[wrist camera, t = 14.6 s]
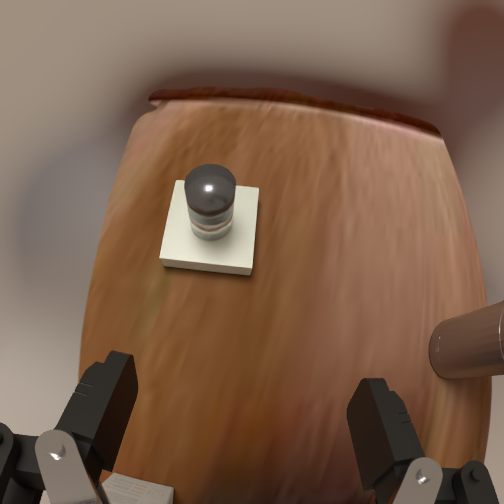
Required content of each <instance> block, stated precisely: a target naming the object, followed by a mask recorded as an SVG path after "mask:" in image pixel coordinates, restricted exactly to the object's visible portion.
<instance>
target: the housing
mask: <svg viewBox="0 0 504 504" xmlns="http://www.w3.org/2000/svg"><path fill="white" fill-rule="evenodd" d="M184 190H185V196H186V202H187V208H188V214H189V220H190V225H191V229H192V231H193V232H194V234H195V235H196V236H198V237H199V238H201V239H203V240H207V241H215V240H219V239H221V238H223V237H224V236H226V235H227V234H228V233H229V231H230V230H231V227H232V222H233V212H234V201H235V191H236V181H235V178H234V176H233V174H232V173H231V172H230V171H229V170H228V169H226V168H225V167H223V166H220V165H216V164H206V165H201V166H199V167H197V168H195V169H193V170H192V171H191V172H190V173H189V174H188V176H187V177H186V179H185V183H184Z"/></svg>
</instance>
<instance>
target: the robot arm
mask: <svg viewBox="0 0 504 504" xmlns="http://www.w3.org/2000/svg"><path fill="white" fill-rule="evenodd" d="M429 354H430V360H431V364H432V366H433V369H434V370H435V372H436V373H437V374H438V375H439V376H441V377H443V378H446V379H456V378H473V377H485V376H494V375H504V301H501V302H499V303H496V304H493V305H490V306H487V307H485V308H482V309H479V310H476V311H473V312H470V313H467V314H464V315H461V316H458V317H455V318H451V319H448V320H445V321H443V322H442V323H440V324H439V325H438V326H437V327H436V329H435V330H434V332H433V335H432V337H431V341H430V348H429ZM137 393H138V380H137V375H136V369H135V363H134V357H133V355H130V354H126V353H121V352H117V351H111V352H110V353H109V355H108V356H107V358H106V360H105V362H104V363H100V362H95V363H94V364H93V365H91V366H90V367H89V368H88V369H86V370H85V372H84V374H83V376H82V378H81V379H80V383H79V384H78V385H77V387H76V389H75V392H74V393H73V394H72V396H71V398H70V400H69V402H68V404H67V406H66V408H65V410H64V412H63V414H62V416H61V418H60V420H59V422H58V424H57V425H56V427H55V428H54V429H53V430H50V431H46V432H44V433H43V434H41V435H40V436H28V435H19V434H13V433H12V431H11V430H10V429H9V428H8V427H7V426H6V425H5V424H3V423H0V504H40V500H41V496H42V493H43V490H46V491H47V494H48V497H49V499H50V502H51V504H111V503H110V501H109V499H108V497H107V494H106V492H105V490H104V488H103V486H102V484H101V482H100V479H99V478H100V475H101V472H102V469H103V470H107V471H110V472H112V470H113V467H114V464H115V461H116V457H117V454H118V451H119V448H120V445H121V442H122V439H123V436H124V433H125V430H126V427H127V424H128V421H129V418H130V415H131V412H132V410H133V407H134V404H135V401H136V398H137ZM347 421H348V425H349V429H350V433H351V437H352V442H353V446H354V450H355V454H356V459H357V463H358V468H359V472H360V477H361V481H362V486H363V491H366V490H372V489H374V490H375V494H376V495H375V496H374V497H373V498H372V500H371V502H370V503H369V504H499V502H498V498H497V495H496V492H495V489H494V486H493V484H492V480H491V478H490V475H489V472H488V470H487V468H486V467H485V465H484V464H482V463H481V462H478V461H470V462H468V463H466V464H465V465H464V466H463V467H462V468H461V469H454V468H441V467H440V466H439V464H438V463H437V462H436V461H434V460H432V459H430V458H426V457H425V455H424V453H423V450H422V447H421V445H420V442H419V439H418V437H417V434H416V432H415V429H414V427H413V424H412V423H411V419H410V417H409V414H407V409H406V407H405V404H404V402H403V400H402V399H401V398H400V397H399V396H398V395H397V394H396V393H395V391H389V388H388V386H387V383H386V381H385V380H384V379H383V378H364V379H362V380H361V382H360V383H359V385H358V387H357V389H356V391H355V393H354V395H353V396H352V398H351V400H350V402H349V404H348V407H347Z"/></svg>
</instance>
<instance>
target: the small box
mask: <svg viewBox="0 0 504 504" xmlns="http://www.w3.org/2000/svg"><path fill="white" fill-rule="evenodd" d="M102 486H103V488H104V490H105V492H106V494H107V497H108V499H109V501H110V503H111V504H173V493H174V488H173V487H169V486H164V485H159V484H155V483H151V482H147V481H143V480H139V479H135V478H131V477H128V476H124V475H121V474H118V473H113V474H112V475H111V476H110V477H109V478H108V479H107V480H106V481H104V482H103V483H102Z"/></svg>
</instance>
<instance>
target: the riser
mask: <svg viewBox="0 0 504 504" xmlns="http://www.w3.org/2000/svg"><path fill="white" fill-rule="evenodd" d="M184 183H185V181H181V180H176V183H175V188H174V192H173V196H172V200H171V205H170V209H169V214H168V218H167V223H166V227H165V232H164V237H163V242H162V247H161V252H160V260H161V262H162V263H163V265H164V266H169V267H177V268H186V269H195V270H203V271H212V272H222V273H231V274H240V275H250V274H251V270H252V264H253V252H254V240H255V228H256V216H257V204H258V192H259V188H253V187H244V186H236V191H235V201H234V212H233V222H232V227H231V230H230V231H229V233H228V234H227V235H226V236H224V237H223V238H221V239H219V240H215V241H207V240H203V239H201V238H199V237H198V236H196V235H195V234H194V232H193V231H192V229H191V225H190V220H189V214H188V208H187V202H186V196H185V190H184Z"/></svg>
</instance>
